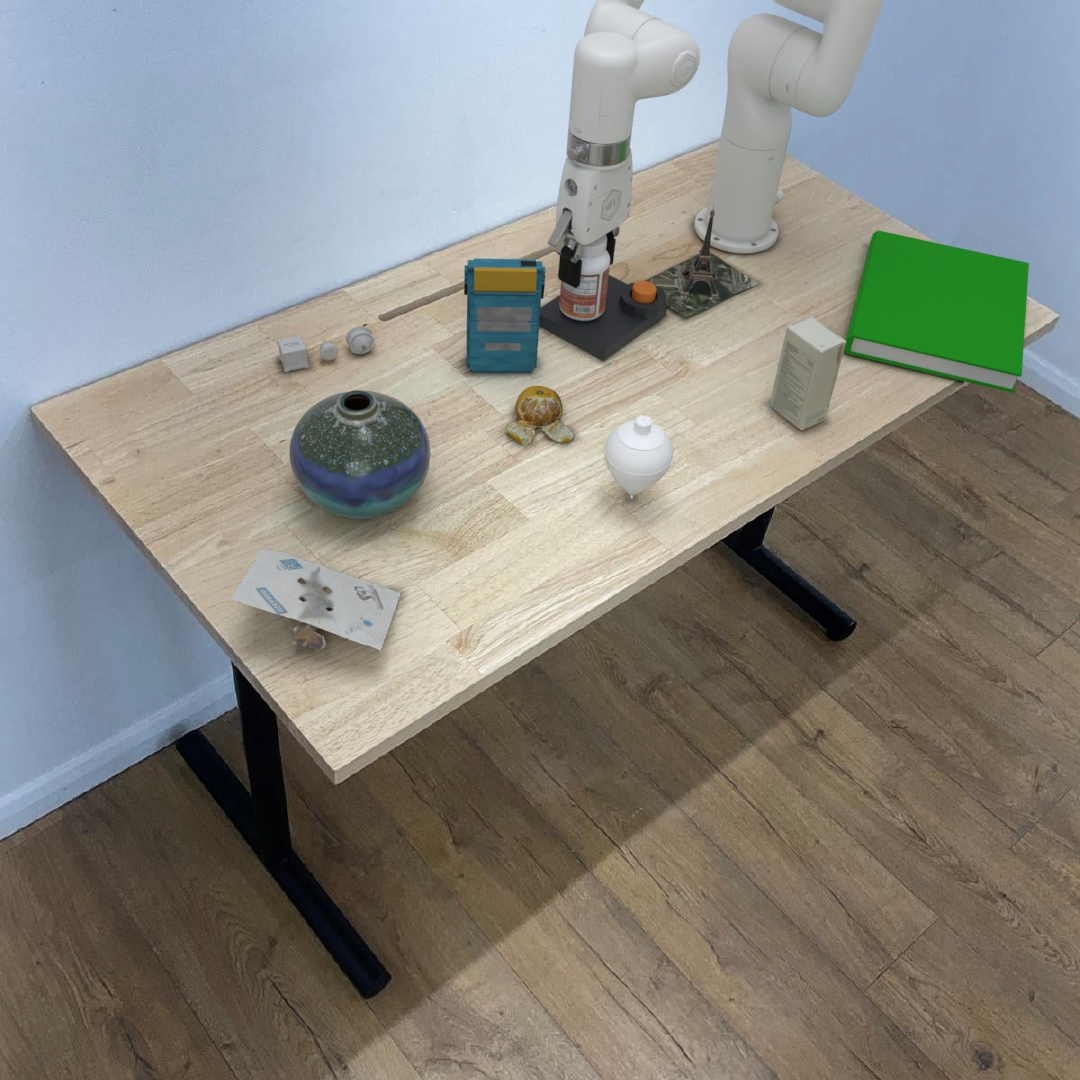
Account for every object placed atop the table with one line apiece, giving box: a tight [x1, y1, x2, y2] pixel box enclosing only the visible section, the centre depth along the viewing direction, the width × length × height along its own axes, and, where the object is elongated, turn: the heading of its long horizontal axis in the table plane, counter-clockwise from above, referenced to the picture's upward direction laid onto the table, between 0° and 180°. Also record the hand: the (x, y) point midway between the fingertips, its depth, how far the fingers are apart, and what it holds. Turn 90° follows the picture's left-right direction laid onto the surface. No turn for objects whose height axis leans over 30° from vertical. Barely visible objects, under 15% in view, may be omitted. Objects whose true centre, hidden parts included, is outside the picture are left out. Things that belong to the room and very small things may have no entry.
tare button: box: [632, 280, 657, 303], centre depth 157 cm, size 3×3×2 cm
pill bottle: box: [559, 234, 611, 321], centre depth 153 cm, size 6×6×11 cm
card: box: [230, 546, 402, 652], centre depth 119 cm, size 11×15×5 cm
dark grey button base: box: [539, 274, 669, 362], centre depth 158 cm, size 15×12×4 cm
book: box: [844, 230, 1030, 394], centre depth 163 cm, size 22×28×3 cm
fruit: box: [505, 385, 576, 446], centre depth 142 cm, size 8×8×4 cm
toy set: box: [276, 325, 375, 374], centre depth 149 cm, size 12×3×4 cm
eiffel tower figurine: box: [644, 206, 759, 318], centre depth 161 cm, size 15×10×13 cm
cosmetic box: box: [768, 316, 846, 431], centre depth 143 cm, size 6×4×12 cm
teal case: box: [463, 257, 547, 374], centre depth 145 cm, size 10×4×15 cm, turn 93°
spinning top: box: [603, 414, 674, 500], centre depth 131 cm, size 8×8×12 cm
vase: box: [289, 389, 432, 520], centre depth 128 cm, size 15×15×13 cm
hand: (585, 271), depth 152 cm, fingers closed on pill bottle, 6 cm apart
